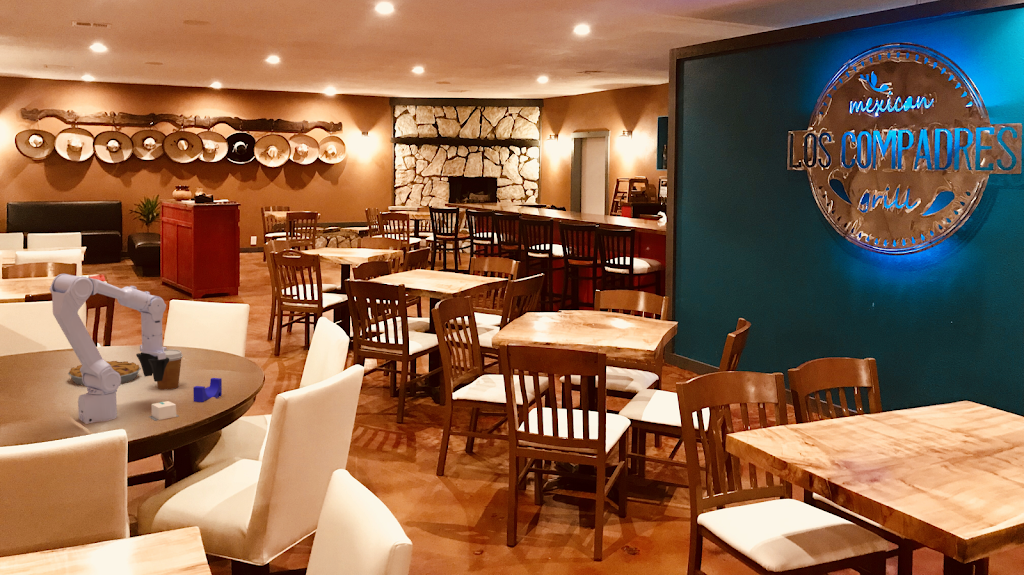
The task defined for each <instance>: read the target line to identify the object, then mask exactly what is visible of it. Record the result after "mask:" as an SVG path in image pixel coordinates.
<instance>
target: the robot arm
mask: <svg viewBox="0 0 1024 575" xmlns="http://www.w3.org/2000/svg"><path fill="white" fill-rule="evenodd" d="M137 288H138V287H137V286H135V285H129V286H124V287H122V288H121V287H118V286H116V285H113V284H111V283H108V282H105V281H102V280H100V279H97V278H92V277H86V276H79V275H73V274H69V273H60V274H58V275H56V276H54V279H53V280H52V283H51V284H50V287H49V289H48V290H49V292H50V293H51V298H52V302H51V303H52V314H53V317H54V319H55V320H56V322H57V324H58V325H59V327H60V329H61V330H62V333H63V334H64V335H65V337H66V340H67V341H68V343H69V345H70V347H71V348H72V350H73V352H74V354H75V355H76V357H77V359H78V360H79V362H80V363H81V364H80V365H82V367H81V368H80V371H81V373H82V381H83V384H84V385H83V386H84V387H86V390H87V392H85V393H84V394H83V393H82V394H80V395H78V399H77V400H78V401H77V403H78V407H77V408H78V420H80V421H81V422H83V423H84V424H86V425H87V424H94V423H99V422H107V421H111V420H115V419H116V418H117V417H118V415H117V414H118V413H117V412H118V408H117V406H118V404H117V392H118V389H119V387H120V386H121V384H122V383H121V376H120V374H119V373H118V372H116V371H115V370H113V368H112V367H111V365H110V364H109V363H107V362H106V361H107V360H106V359H104V358H103V356H102V355H101V354H100V351H99V349H98V348H97V346H96V344H95V342H94V340H93V339H92V337H91V335H90V334H89V331H88V329H87V327H86V326H85V324H84V322H83V321H82V319H81V317H80V315H79V310H80V309H81V307H82V306H83V305H84V304H85V303H86V302H87V300H88V299H89V298H90V296H94V295H96V294H99V295H102V296H106V297H109V298H113V299H116V300H117V303H118V305H120V306H123V307H127V308H129V309H132V310H136V311H137V312H139V313H140V323H141V324H140V325H141V327H140V328H141V344H139V352H140V353H136V358H138V361H139V363H140V365H141V366H140V367H141V369H142V373H143V376H144V377H150V376H151V377H153V381H154V382H156V383H157V381H162V379H163V375H164V371H165V368H166V365H167V363H168V362H169V358H166V353H165V352H164V350H168V348H167V347H166V346H163V345H164V342H163V319H164V312H165V311H166V309H167V304H166V303H165V300H164V299H163V297H161V296H159V295H154V294H153V295H152V294H151V292H150V291H146V290H145V291H143V290H139V289H137Z"/></svg>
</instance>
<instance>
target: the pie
mask: <svg viewBox="0 0 1024 575" xmlns="http://www.w3.org/2000/svg"><path fill="white" fill-rule="evenodd" d="M105 361H106V362H107V363H109V364H110V365H111V367H112V368H113V370H115V371H116V372H118V373H119V374H120V376H121V384H124V383H129V382H130V381H133V380H135V379H136V378H137V376H138V374H139V372H140V371H141V369H142V367H141V366H140V365H139V364H136V363H135V362H129V361H118V360H111V361H110V360H109V361H107V360H105ZM81 367H82V364H79V365H77V366H76V367H71V368H70V370H69V372H68V373H67V374H68V375H69V376H70V377H71V379H72V381H73V382H74V384H76V385H81V386H85V385H84V384H83V381H82V373H81V371H80V368H81Z"/></svg>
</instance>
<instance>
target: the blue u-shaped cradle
mask: <svg viewBox="0 0 1024 575" xmlns="http://www.w3.org/2000/svg"><path fill="white" fill-rule="evenodd" d="M222 387H223V385H222V377H211V378H210V382H209V386H207V387H205V386H200V385H195V386H193V387H192V388H193V403H194V402H195V403H204V402H205V401H207V400H210V399H212V398H214V399H218V398H217V397H219V396H221V395H222V394H223V393H222V392H223V391H222V390H223V389H222ZM222 396H223V395H222ZM222 396H221V397H222ZM219 398H220V397H219Z"/></svg>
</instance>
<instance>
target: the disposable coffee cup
mask: <svg viewBox="0 0 1024 575" xmlns="http://www.w3.org/2000/svg"><path fill="white" fill-rule="evenodd" d="M164 352H165V353H166V358H169V362H168V363H167V365H166V368H165V371H164V375H163V379H162V381H156V383H157V388H158V389H159V390H164V389H167V390H174V389H173V388H175V389H177V388H179V385H180V384H179V382H180V374H181V365H182V359H183V356H184V354H182V351H181V350H179V349H168V348H167V350H164Z"/></svg>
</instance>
